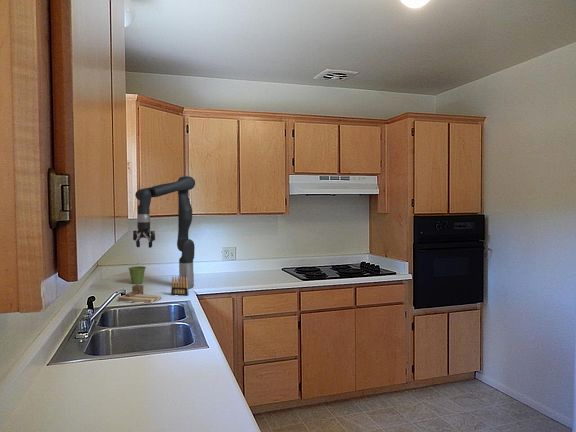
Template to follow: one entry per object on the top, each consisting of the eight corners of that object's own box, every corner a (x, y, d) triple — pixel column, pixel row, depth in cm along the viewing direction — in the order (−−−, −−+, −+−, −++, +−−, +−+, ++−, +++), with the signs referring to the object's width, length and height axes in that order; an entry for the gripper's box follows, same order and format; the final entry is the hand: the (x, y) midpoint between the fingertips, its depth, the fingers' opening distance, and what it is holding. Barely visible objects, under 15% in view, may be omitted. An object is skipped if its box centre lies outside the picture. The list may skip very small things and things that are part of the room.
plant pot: (131, 285, 275) (131, 269, 274) (126, 283, 284) (125, 267, 284) (148, 283, 282) (148, 267, 282) (142, 280, 292) (142, 265, 291)
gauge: (136, 295, 246) (136, 283, 246) (143, 296, 245) (143, 284, 245) (123, 300, 235) (123, 287, 235) (130, 301, 234) (130, 288, 233)
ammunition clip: (188, 295, 248) (188, 276, 248) (187, 295, 246) (187, 276, 246) (172, 294, 250) (172, 275, 249) (171, 295, 248) (170, 276, 247)
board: (129, 297, 243) (129, 293, 243) (160, 299, 237) (160, 295, 237) (118, 301, 233) (118, 297, 233) (150, 304, 227) (150, 299, 227)
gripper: (157, 221, 248) (157, 247, 248) (137, 220, 252) (138, 246, 252) (150, 221, 240) (150, 248, 241) (130, 221, 244) (130, 247, 245)
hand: (144, 247), depth 247 cm, fingers open, 8 cm apart
